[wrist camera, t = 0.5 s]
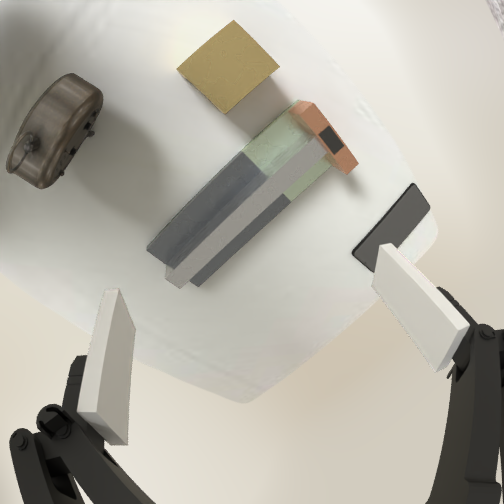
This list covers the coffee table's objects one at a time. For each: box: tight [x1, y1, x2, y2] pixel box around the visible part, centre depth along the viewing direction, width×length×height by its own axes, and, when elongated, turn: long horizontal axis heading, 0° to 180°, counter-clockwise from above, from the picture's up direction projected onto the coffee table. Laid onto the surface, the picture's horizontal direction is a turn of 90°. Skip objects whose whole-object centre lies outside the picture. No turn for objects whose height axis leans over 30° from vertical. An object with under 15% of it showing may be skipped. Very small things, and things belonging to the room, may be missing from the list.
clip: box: [177, 20, 280, 114], centre depth 26 cm, size 7×6×6 cm
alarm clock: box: [6, 73, 103, 189], centre depth 21 cm, size 11×5×16 cm, turn 139°
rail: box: [147, 100, 359, 289], centre depth 35 cm, size 26×9×5 cm, turn 133°
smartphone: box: [352, 183, 430, 272], centre depth 44 cm, size 7×1×15 cm
